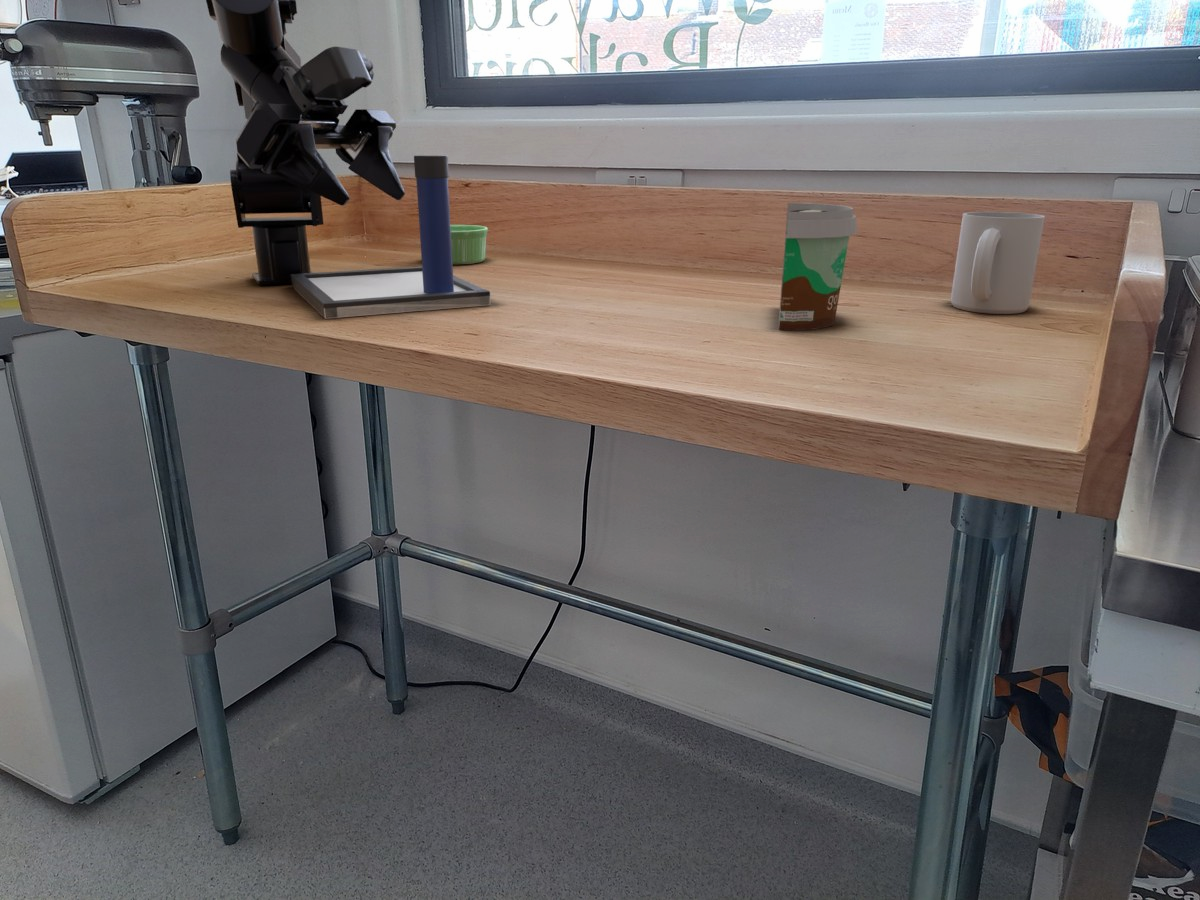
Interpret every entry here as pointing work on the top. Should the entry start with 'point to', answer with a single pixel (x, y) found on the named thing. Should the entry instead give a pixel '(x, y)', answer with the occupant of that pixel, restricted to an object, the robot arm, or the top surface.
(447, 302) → the whiteboard
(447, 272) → the marker
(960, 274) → the cup
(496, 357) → the top surface
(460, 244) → the ramekin
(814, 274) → the food container
